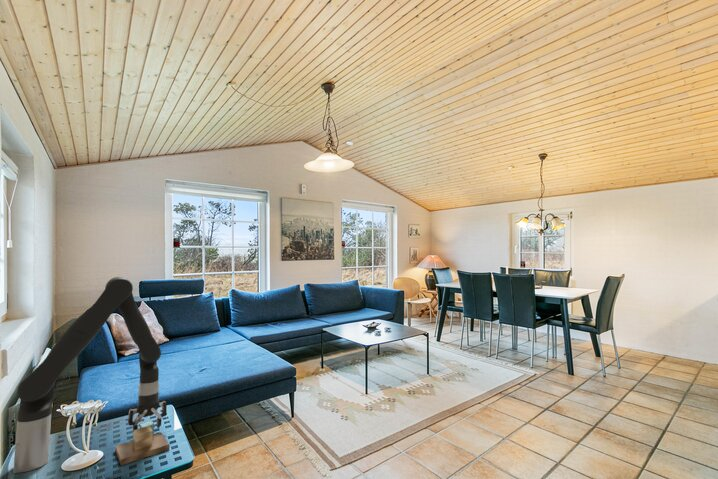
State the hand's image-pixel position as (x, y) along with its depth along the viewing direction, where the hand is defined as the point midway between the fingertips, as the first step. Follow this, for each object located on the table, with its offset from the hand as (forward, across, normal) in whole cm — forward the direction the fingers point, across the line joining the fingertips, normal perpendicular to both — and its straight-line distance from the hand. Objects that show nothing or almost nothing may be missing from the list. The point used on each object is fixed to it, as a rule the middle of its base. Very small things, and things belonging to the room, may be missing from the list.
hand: (147, 430), depth 148 cm
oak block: (0, -4, -13) cm, 14 cm away
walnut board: (+2, -4, -13) cm, 14 cm away
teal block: (+2, 0, 0) cm, 2 cm away
